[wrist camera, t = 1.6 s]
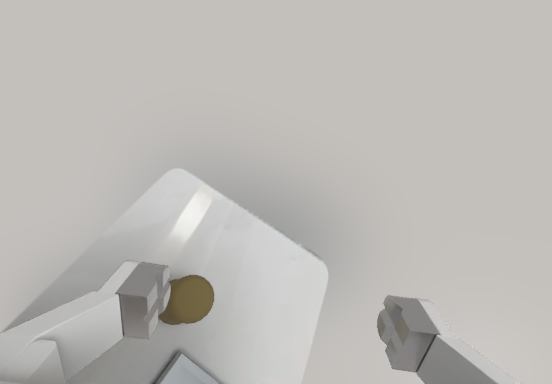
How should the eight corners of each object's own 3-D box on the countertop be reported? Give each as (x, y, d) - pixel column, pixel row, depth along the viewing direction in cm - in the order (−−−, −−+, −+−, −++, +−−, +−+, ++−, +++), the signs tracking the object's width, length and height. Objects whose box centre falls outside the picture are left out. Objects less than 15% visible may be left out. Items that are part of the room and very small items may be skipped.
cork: (153, 283, 37) (163, 274, 29) (196, 276, 40) (217, 265, 32) (155, 329, 35) (167, 335, 27) (200, 318, 39) (224, 320, 30)
